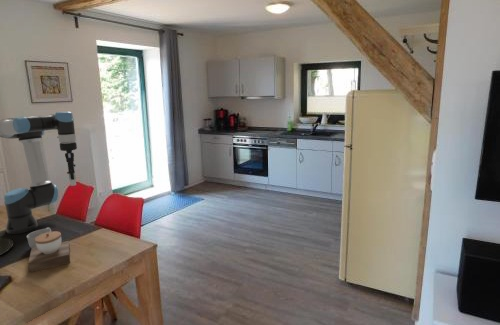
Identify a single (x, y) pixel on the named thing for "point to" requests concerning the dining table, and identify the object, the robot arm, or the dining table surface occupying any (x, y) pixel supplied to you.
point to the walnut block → (49, 258)
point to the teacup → (34, 234)
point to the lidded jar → (48, 242)
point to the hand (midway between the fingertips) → (73, 182)
